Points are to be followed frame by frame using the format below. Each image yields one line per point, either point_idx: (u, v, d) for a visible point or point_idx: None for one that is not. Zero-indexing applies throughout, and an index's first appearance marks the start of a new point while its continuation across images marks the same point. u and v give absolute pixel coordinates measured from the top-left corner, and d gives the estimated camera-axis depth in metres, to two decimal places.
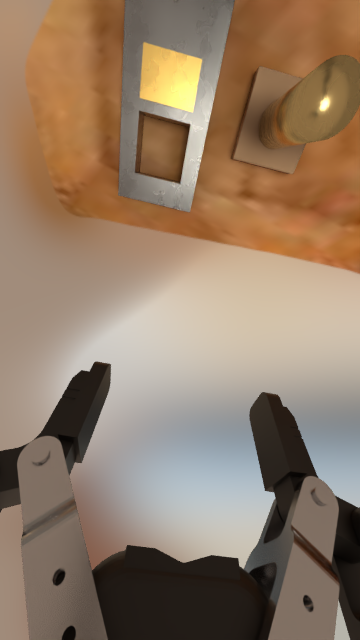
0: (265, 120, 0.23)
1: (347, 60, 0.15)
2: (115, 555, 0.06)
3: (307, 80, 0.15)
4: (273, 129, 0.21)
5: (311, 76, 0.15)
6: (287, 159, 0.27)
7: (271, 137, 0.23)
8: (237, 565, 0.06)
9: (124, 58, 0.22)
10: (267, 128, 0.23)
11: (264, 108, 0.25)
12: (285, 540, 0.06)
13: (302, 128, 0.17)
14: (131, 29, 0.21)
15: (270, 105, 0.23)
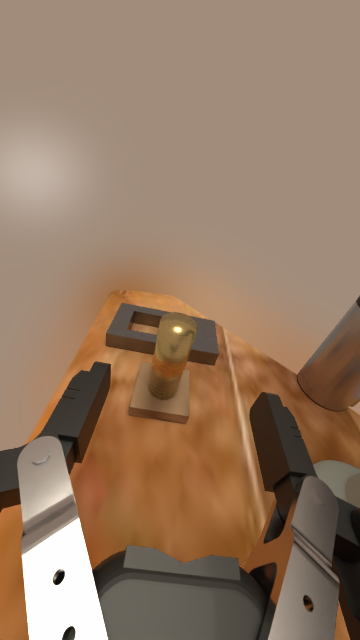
0: None
1: (195, 327, 0.25)
2: (115, 555, 0.06)
3: (185, 315, 0.27)
4: None
5: (186, 315, 0.27)
6: (141, 399, 0.30)
7: None
8: (237, 565, 0.06)
9: None
10: None
11: None
12: (285, 540, 0.06)
13: (165, 315, 0.26)
14: None
15: None
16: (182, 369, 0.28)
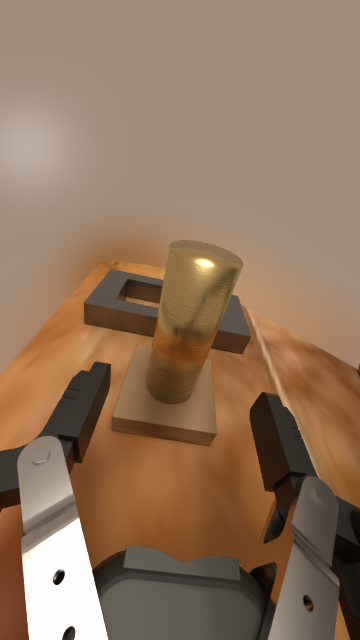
0: None
1: (239, 261, 0.13)
2: (115, 555, 0.06)
3: (214, 247, 0.15)
4: None
5: (218, 247, 0.14)
6: (133, 402, 0.17)
7: None
8: (237, 565, 0.06)
9: None
10: None
11: None
12: (285, 540, 0.06)
13: (179, 241, 0.14)
14: None
15: None
16: (207, 349, 0.15)
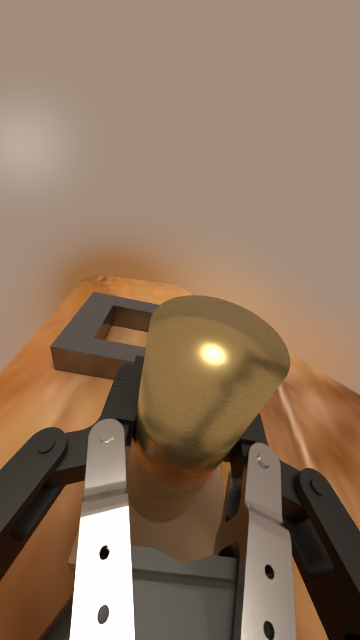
0: None
1: (279, 344, 0.07)
2: None
3: None
4: None
5: (236, 306, 0.08)
6: None
7: None
8: (237, 565, 0.06)
9: None
10: None
11: None
12: (242, 516, 0.07)
13: (169, 302, 0.08)
14: None
15: None
16: None
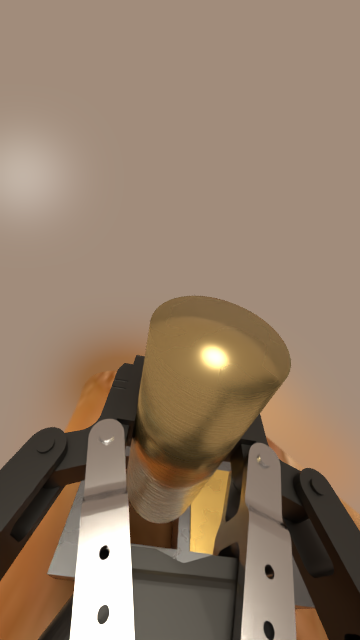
0: None
1: (280, 345, 0.07)
2: None
3: None
4: None
5: (237, 306, 0.08)
6: None
7: None
8: (237, 565, 0.06)
9: None
10: None
11: None
12: (242, 516, 0.07)
13: (169, 303, 0.08)
14: None
15: None
16: None
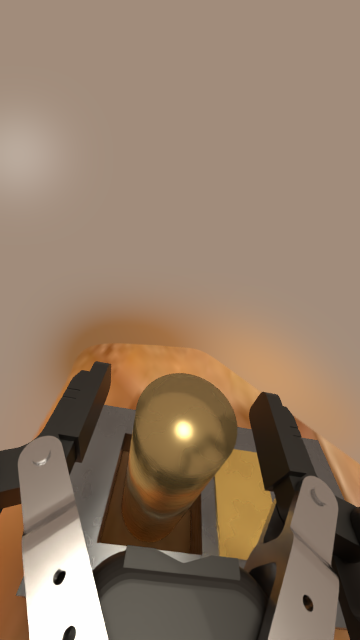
0: None
1: (232, 422, 0.09)
2: (115, 555, 0.06)
3: (201, 379, 0.11)
4: None
5: (205, 381, 0.11)
6: None
7: None
8: (237, 565, 0.06)
9: (239, 428, 0.19)
10: None
11: None
12: (285, 540, 0.06)
13: (152, 385, 0.10)
14: None
15: None
16: None
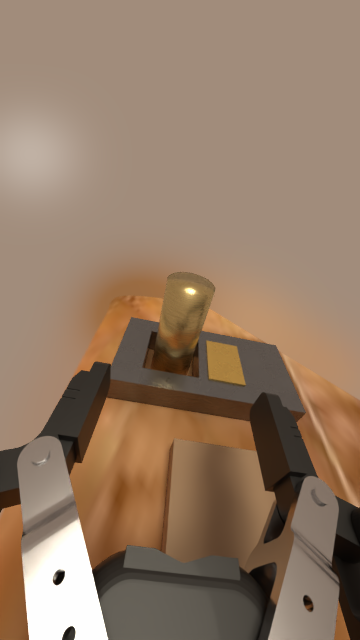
0: None
1: (212, 288, 0.20)
2: (115, 555, 0.06)
3: (198, 276, 0.21)
4: None
5: (200, 276, 0.21)
6: (186, 554, 0.13)
7: None
8: (237, 565, 0.06)
9: (224, 335, 0.29)
10: None
11: (235, 472, 0.17)
12: (285, 540, 0.06)
13: (173, 274, 0.20)
14: (239, 341, 0.29)
15: None
16: (194, 345, 0.22)
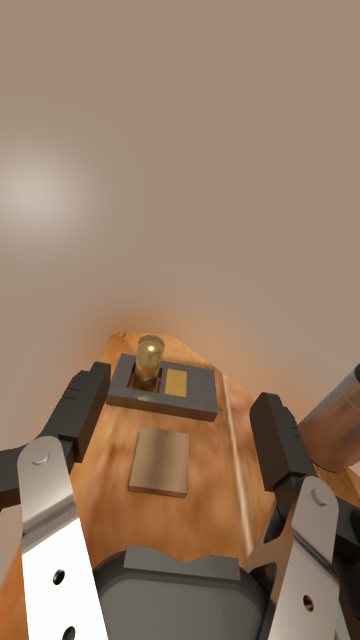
0: None
1: (163, 346, 0.37)
2: (115, 555, 0.06)
3: (157, 337, 0.39)
4: None
5: (158, 337, 0.38)
6: (140, 474, 0.30)
7: None
8: (237, 565, 0.06)
9: (180, 364, 0.46)
10: None
11: (170, 443, 0.34)
12: (285, 540, 0.06)
13: (142, 337, 0.38)
14: (189, 368, 0.46)
15: None
16: (155, 375, 0.39)
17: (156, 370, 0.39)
